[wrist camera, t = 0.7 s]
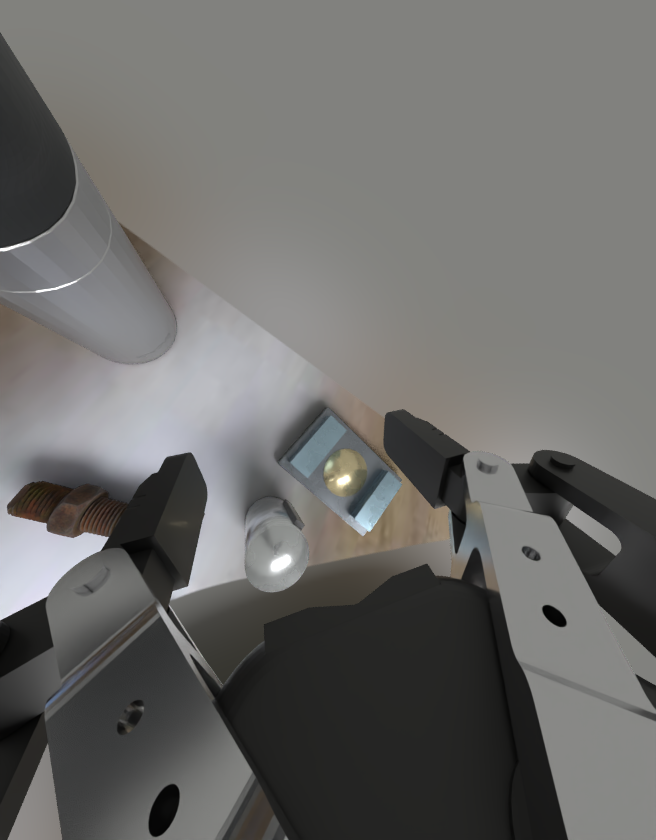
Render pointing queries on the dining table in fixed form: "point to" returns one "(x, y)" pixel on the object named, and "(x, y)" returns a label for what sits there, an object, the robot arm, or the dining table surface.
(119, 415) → the dining table surface
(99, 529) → the bolt
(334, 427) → the base plate
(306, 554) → the cylinder
